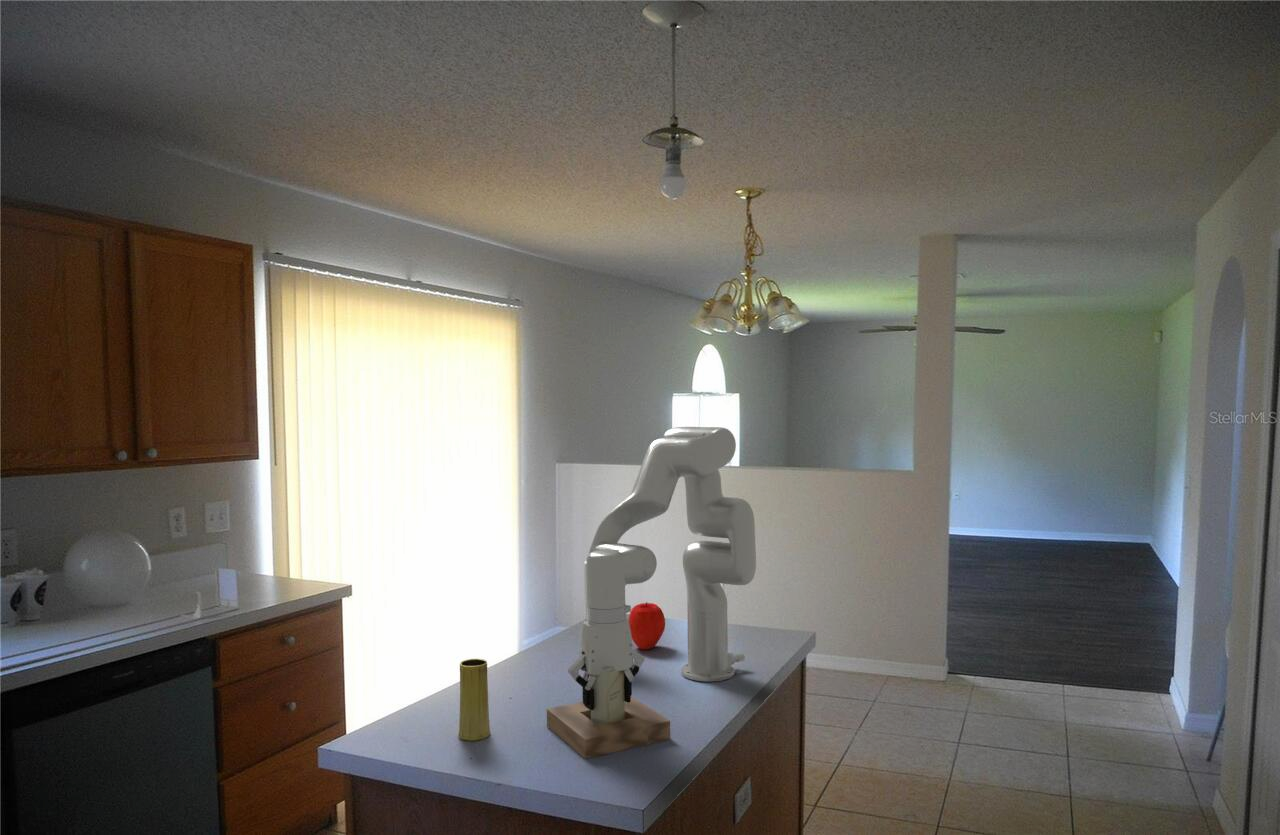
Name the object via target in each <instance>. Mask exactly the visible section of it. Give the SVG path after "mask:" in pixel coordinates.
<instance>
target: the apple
mask: <svg viewBox="0 0 1280 835" xmlns="http://www.w3.org/2000/svg"><path fill="white" fill-rule="evenodd" d="M665 618H666V617H665V615H664V612H663V610H662V608H661V607H659V606H658V605H657V604H656V603H653V602H652V603H651V602H647V601H646V602H644V603H639V604H636V605H634V606H633V607H631V612H629V616H628V622H629V626H630V630H631V636H632V642H633V643H634V644H635V645H636V647H637V648H638V649H640V650H642V651H643V650H650V649H651V650H652V649H653V648H654V647H655V646H656V645H657V644H658V642H659V641H660V639H661V638H662V636H663V634H664V631H665V627H666V619H665Z"/></svg>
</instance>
